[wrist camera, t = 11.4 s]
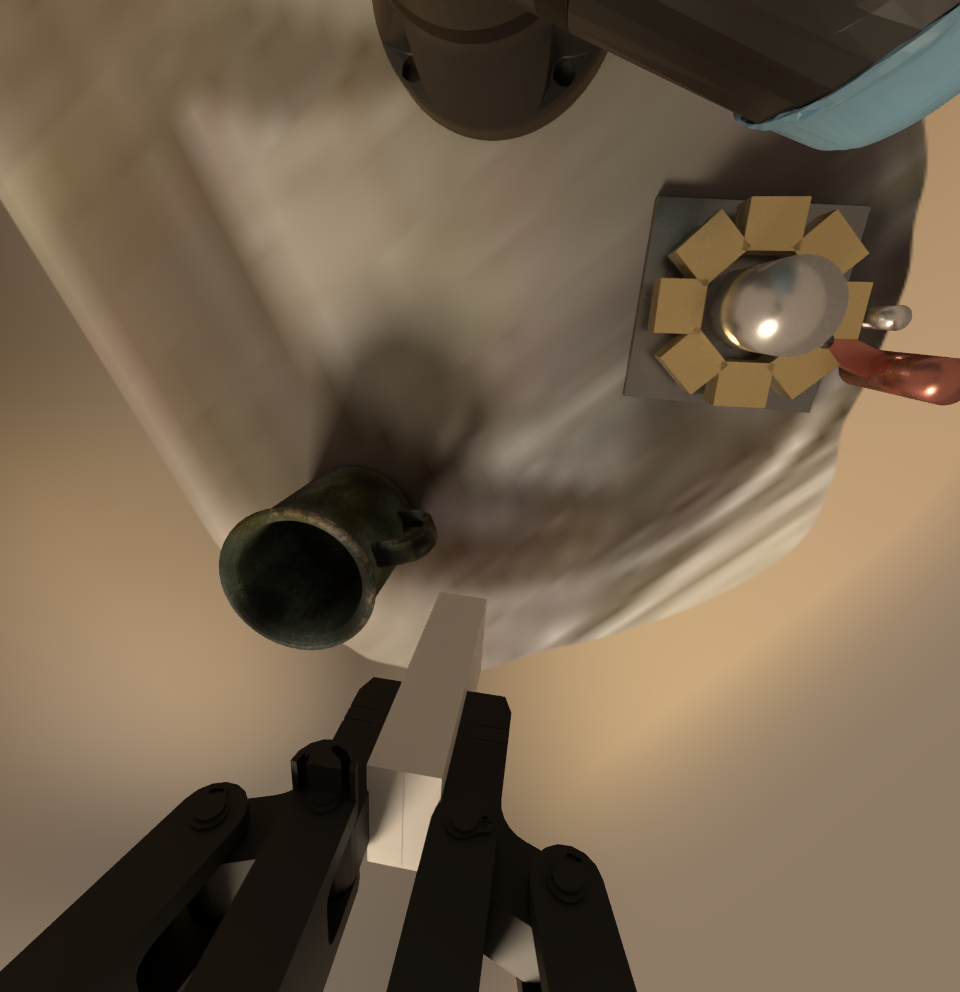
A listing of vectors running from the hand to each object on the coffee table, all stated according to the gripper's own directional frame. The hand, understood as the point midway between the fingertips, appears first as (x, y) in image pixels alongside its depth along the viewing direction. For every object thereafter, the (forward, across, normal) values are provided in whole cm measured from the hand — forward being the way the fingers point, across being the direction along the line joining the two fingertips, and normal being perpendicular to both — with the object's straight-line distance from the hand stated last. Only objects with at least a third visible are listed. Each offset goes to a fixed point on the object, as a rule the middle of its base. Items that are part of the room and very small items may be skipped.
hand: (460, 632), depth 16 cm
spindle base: (+26, +14, +11) cm, 32 cm away
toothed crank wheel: (+25, +16, +10) cm, 31 cm away
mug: (+27, -12, -8) cm, 30 cm away
